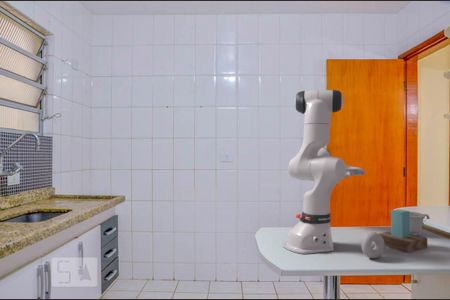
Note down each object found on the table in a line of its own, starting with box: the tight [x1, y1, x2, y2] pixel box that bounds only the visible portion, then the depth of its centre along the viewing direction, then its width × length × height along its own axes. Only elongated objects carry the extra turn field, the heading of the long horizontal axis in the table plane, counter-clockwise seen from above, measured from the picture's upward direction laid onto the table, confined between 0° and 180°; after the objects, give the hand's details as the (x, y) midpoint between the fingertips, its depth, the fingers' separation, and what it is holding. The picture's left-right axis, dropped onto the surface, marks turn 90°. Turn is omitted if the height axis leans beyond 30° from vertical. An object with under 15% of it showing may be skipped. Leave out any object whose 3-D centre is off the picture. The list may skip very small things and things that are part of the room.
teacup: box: [410, 211, 431, 236], centre depth 145 cm, size 12×15×10 cm
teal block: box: [390, 208, 411, 238], centre depth 128 cm, size 5×5×11 cm
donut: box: [361, 231, 386, 259], centre depth 113 cm, size 10×4×10 cm, turn 109°
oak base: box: [378, 230, 428, 253], centre depth 128 cm, size 14×14×4 cm
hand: (357, 173), depth 148 cm, fingers open, 8 cm apart
